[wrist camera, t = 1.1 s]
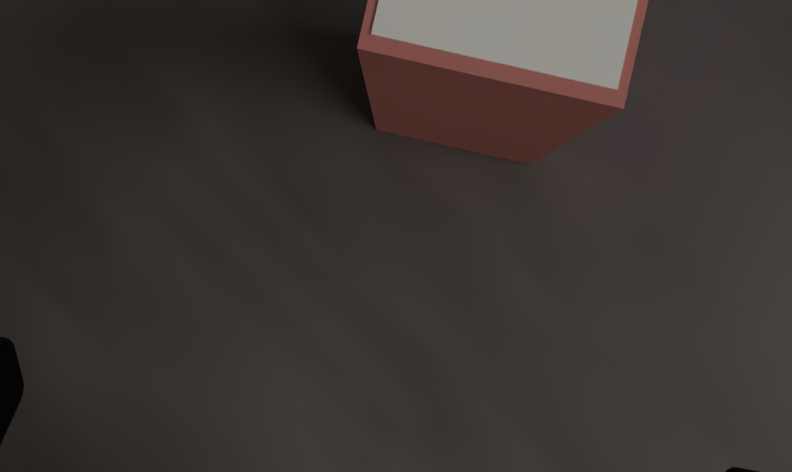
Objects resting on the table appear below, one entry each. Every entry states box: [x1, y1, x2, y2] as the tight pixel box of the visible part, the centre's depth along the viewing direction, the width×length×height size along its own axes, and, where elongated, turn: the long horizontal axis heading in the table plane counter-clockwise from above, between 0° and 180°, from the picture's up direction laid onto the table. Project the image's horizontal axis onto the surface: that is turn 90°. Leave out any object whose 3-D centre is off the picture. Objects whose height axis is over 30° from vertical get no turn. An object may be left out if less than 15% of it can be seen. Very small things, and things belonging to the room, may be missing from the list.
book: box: [357, 0, 648, 165], centre depth 18 cm, size 3×5×10 cm, turn 77°
